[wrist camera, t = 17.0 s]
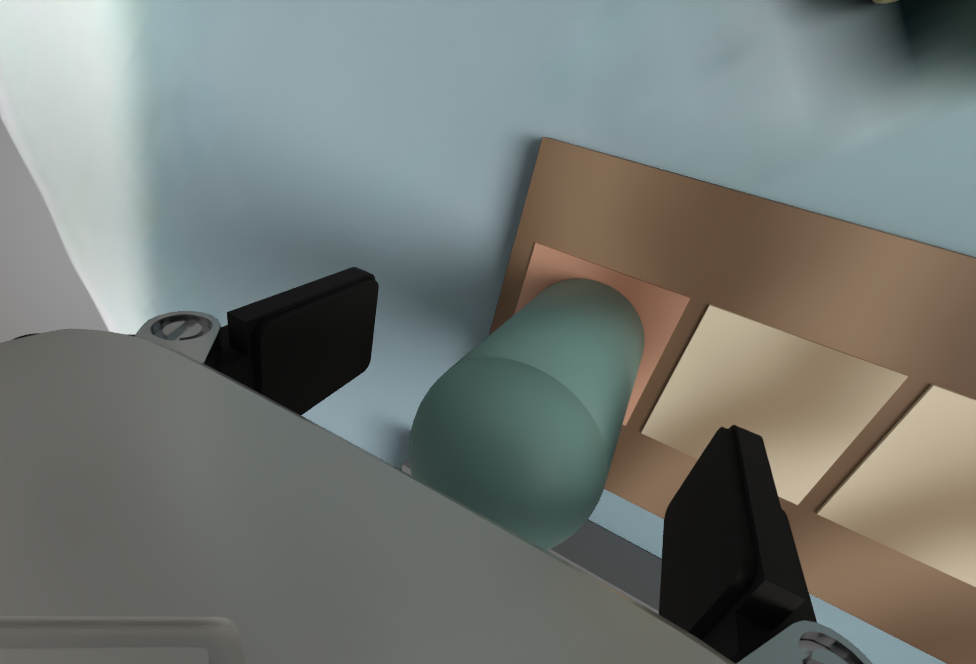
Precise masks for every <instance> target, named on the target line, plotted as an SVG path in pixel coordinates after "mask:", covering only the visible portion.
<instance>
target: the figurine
mask: <svg viewBox="0 0 976 664" xmlns="http://www.w3.org/2000/svg"><path fill="white" fill-rule="evenodd" d="M872 1H873V2H874V3H876V4H885V3H890V2H895V1H898V0H872Z"/></svg>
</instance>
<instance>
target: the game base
mask: <svg viewBox="0 0 976 664" xmlns="http://www.w3.org/2000/svg"><path fill="white" fill-rule="evenodd" d="M401 470H402V471H404V472H405V473H407V474H409V475H411V470H410V464H409V458H408V459H407V460H406V461H405V462H404V463H403V464H402V469H401ZM411 476H412V475H411ZM546 551H548V552H550V553H552V554H554V555H555V556H557V557H559V558H561V559H563V560H564V561H566V562H568V563H570V564H572V565H573V566H575V567H577V568H579V569H580V570H582V571H584V572H586V573H587V574H589V575H591V576H593V577H594V578H596V579H598V580H600V581H601V582H603V583H605V584H607V585H609V586H610V587H612V588H614V589H616V590H618V591H620V592H621V593H623V594H625V595H627V596H629V597H630V598H632V599H634V600H635V601H637V602H639V603H640V604H642V605H644V606H645V607H647V608H649V609H650V610H652V611H654V612H655V613H657V614H659V601H660V583H661V566H662V559H660V558H658V557H656V556H654V555H652V554H650V553H649V552H647V551H645V550H643V549H641V548H639V547H637V546H636V545H634V544H632V543H630V542H628V541H626V540H624V539H623V538H621V537H619V536H617V535H615V534H613V533H611V532H610V531H608V530H606V529H604V528H602V527H600V526H598V525H597V524H595V523H593V522H591V521H589V520H587V521H586V522H585V523H584V524H583V525H582V526H581V527H580V528H579V529H578V530H577V531H576V532H575V533H574V534H573V535H572V536H570V537H569V538H568V539H567V540H565V541H563V542H562V543H560V544H559V545H557V546H555V547H553V548H551V549H549V550H546Z"/></svg>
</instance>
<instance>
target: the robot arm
mask: <svg viewBox="0 0 976 664" xmlns="http://www.w3.org/2000/svg"><path fill="white" fill-rule="evenodd" d="M377 297H378V283H377V281H375V277H374V275H373V274H371V273H368V272H366V271H363V270H361V269H359V268H356V267H352V268H349V269H346V270H344V271H341V272H338V273H335V274H332V275H330V276H327V277H324V278H321V279H318V280H316V281H313V282H310V283H307V284H304V285H302V286H299V287H296V288H293V289H291V290H288V291H285V292H282V293H279V294H277V295H274V296H271V297H268V298H265V299H263V300H260V301H257V302H254V303H251V304H249V305H246V306H243V307H240V308H238V309H235V310H232V311H229V312H227V320H228V325H226V326H224V327H221V325H220V322H219V321H218V319H217V318H215V317H213V316H212V315H209V314H206V313H202V312H194V311H179V312H171V313H166V314H163V315H159V316H156V317H154V318H152V319H150V320H148V321H147V322H146V323H145V324H144V325H143V326H142V327H141V328H140V330H139V331H138V332H137V333H136V335H125V334H119V333H113V332H107V331H99V330H87V329H63V330H56V331H51V332H46V333H38V334H29V335H24V336H20V337H17V338H15V339H13V340H10V341H6V342H3V343H0V664H872V663H871V661H870V660H869V659H868V658H867V657H866V656H865V655H864V654H863V653H862V652H861V651H860V650H859V649H858V648H856V647H855V646H854V645H853V644H852V643H851V642H850V641H848V640H847V639H846V638H844V637H843V636H841V635H840V634H838V633H837V632H835V631H834V630H832V629H830V628H828V627H826V626H823V625H821V624H819V623H817V621H816V617H815V614H814V610H813V607H812V603H811V599H810V596H809V592H808V589H807V585H806V581H805V578H804V574H803V571H802V567H801V563H800V560H799V556H798V552H797V549H796V545H795V542H794V538H793V534H792V531H791V527H790V524H789V520H788V517H787V515H786V513H785V511H784V510H782V509H781V505H780V501H779V497H778V494H777V490H776V486H775V482H774V479H773V475H772V471H771V467H770V464H769V460H768V456H767V452H766V449H765V445H764V441H763V438H762V436H760V435H758V434H755V433H753V432H750V431H748V430H746V429H743V428H741V427H738V426H736V425H732V426H731V427H729V429H727V428H724V427H720V428H719V429H718V430H717V432H716V433H715V435H714V436H713V438H712V439H711V441H710V442H709V444H708V445H707V447H706V448H705V450H704V451H703V453H702V454H701V456H700V458H699V459H698V461H697V462H696V464H695V465H694V467H693V468H692V470H691V471H690V473H689V474H688V476H687V477H686V479H685V480H684V482H683V483H682V485H681V487H680V488H679V490H678V491H677V493H676V494H675V496H674V497H673V499H672V500H671V502H670V503H669V505H668V507H667V510H666V513H665V517H664V531H663V548H662V566H661V583H660V601H659V614H657V613H655V612H654V611H652V610H650V609H649V608H647V607H645V606H644V605H642V604H640V603H639V602H637V601H635V600H634V599H632V598H630V597H629V596H627V595H625V594H623V593H621V592H620V591H618V590H616V589H614V588H612V587H610V586H609V585H607V584H605V583H603V582H601V581H600V580H598V579H596V578H594V577H593V576H591V575H589V574H587V573H586V572H584V571H582V570H580V569H579V568H577V567H575V566H573V565H572V564H570V563H568V562H566V561H564V560H563V559H561V558H559V557H557V556H555V555H554V554H552V553H550V552H548V551H546V550H545V549H543V548H541V547H539V546H537V545H536V544H534V543H532V542H530V541H528V540H527V539H525V538H523V537H521V536H519V535H518V534H516V533H514V532H512V531H510V530H509V529H507V528H505V527H503V526H501V525H500V524H498V523H496V522H494V521H492V520H491V519H489V518H487V517H485V516H483V515H482V514H480V513H478V512H476V511H474V510H473V509H471V508H469V507H467V506H465V505H464V504H462V503H460V502H458V501H456V500H455V499H453V498H451V497H449V496H447V495H445V494H444V493H442V492H440V491H438V490H436V489H435V488H433V487H431V486H429V485H427V484H425V483H424V482H422V481H420V480H418V479H416V478H415V477H413V476H411V475H409V474H407V473H405V472H404V471H402V470H400V469H398V468H396V467H395V466H393V465H391V464H389V463H387V462H385V461H384V460H382V459H380V458H378V457H376V456H374V455H373V454H371V453H369V452H367V451H365V450H363V449H362V448H360V447H358V446H356V445H354V444H353V443H351V442H349V441H347V440H345V439H343V438H342V437H340V436H338V435H336V434H334V433H332V432H330V431H329V430H327V429H325V428H323V427H321V426H319V425H317V424H316V423H314V422H312V421H310V420H308V419H306V418H305V417H303V416H301V415H302V414H304V413H305V412H307V411H308V410H309V409H311V408H312V407H314V406H315V405H317V404H318V403H320V402H321V401H322V400H324V399H325V398H327V397H328V396H330V395H331V394H332V393H334V392H335V391H337V390H338V389H340V388H341V387H343V386H344V385H345V384H347V383H348V382H350V381H351V380H353V379H354V378H355V377H357V376H358V375H360V374H361V373H363V372H364V371H365V370H366V369H367V368H368V366H369V364H370V360H371V352H372V343H373V334H374V324H375V315H376V306H377Z"/></svg>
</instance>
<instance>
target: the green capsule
mask: <svg viewBox="0 0 976 664" xmlns="http://www.w3.org/2000/svg"><path fill="white" fill-rule="evenodd" d="M644 345H645V335H644V328H643V325H642V321H641V319H640V317H639V314H638V313H637V311H636V309H635V308H634V306H633V305H632V304H631V303H630V301H629V300H628V299H627V298H626V297H625V296H624V295H623V294H621V293H620V292H619V291H617V290H616V289H614V288H612V287H611V286H609V285H607V284H604V283H602V282H599V281H595V280H591V279H568V280H564V281H560V282H557V283H555V284H553V285H551V286H549V287H548V288H546V289H545V290H543V291H542V292H541V293H540V294H539V295H537V296H536V297H535V298H534V299H533V300H531V301H530V302H529V303H528V304H527V305H525V306H524V307H523V308H522V309H521V310H519V311H518V312H517V313H516V314H515V315H513V316H512V317H511V318H510V319H509V320H507V321H506V322H505V323H504V324H503V325H501V326H500V327H499V328H498V329H497V330H496V331H494V332H493V333H492V334H491V335H490V336H488V337H487V338H486V339H485V340H484V341H482V342H481V343H480V344H479V345H478V346H476V347H475V348H474V349H473V350H472V351H470V352H469V353H468V354H467V355H466V356H464V357H463V358H462V359H461V360H460V361H458V362H457V363H456V364H455V365H454V366H453V367H451V368H450V369H449V370H448V371H447V372H445V373H444V374H443V375H442V376H441V377H440V378H439V379H438V380H437V381H436V382H435V383H434V384H433V386H432V387H431V388H430V389H429V391H428V392H427V394H426V395H425V397H424V399H423V400H422V402H421V404H420V406H419V408H418V411H417V413H416V416H415V418H414V421H413V425H412V430H411V435H410V441H409V464H410V470H411V475H412V476H413V477H415V478H416V479H418V480H420V481H422V482H424V483H425V484H427V485H429V486H431V487H433V488H435V489H436V490H438V491H440V492H442V493H444V494H445V495H447V496H449V497H451V498H453V499H455V500H456V501H458V502H460V503H462V504H464V505H465V506H467V507H469V508H471V509H473V510H474V511H476V512H478V513H480V514H482V515H483V516H485V517H487V518H489V519H491V520H492V521H494V522H496V523H498V524H500V525H501V526H503V527H505V528H507V529H509V530H510V531H512V532H514V533H516V534H518V535H519V536H521V537H523V538H525V539H527V540H528V541H530V542H532V543H534V544H536V545H537V546H539V547H541V548H543V549H545V550H549V549H551V548H553V547H555V546H557V545H559V544H560V543H562V542H563V541H565V540H567V539H568V538H569V537H570V536H572V535H573V534H574V533H575V532H576V531H577V530H578V529H579V528H580V527H581V526H582V525H583V524H584V523H585V522H586V521H587V519H588V518H589V517H590V515H591V514H592V512H593V511H594V509H595V507H596V505H597V504H598V502H599V500H600V497H601V495H602V492H603V489H604V486H605V483H606V480H607V477H608V473H609V470H610V466H611V463H612V459H613V456H614V452H615V449H616V445H617V442H618V438H619V435H620V431H621V428H622V425H623V421H624V418H625V414H626V411H627V407H628V404H629V400H630V397H631V393H632V390H633V386H634V383H635V379H636V376H637V372H638V369H639V366H640V362H641V359H642V355H643V351H644Z"/></svg>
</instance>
